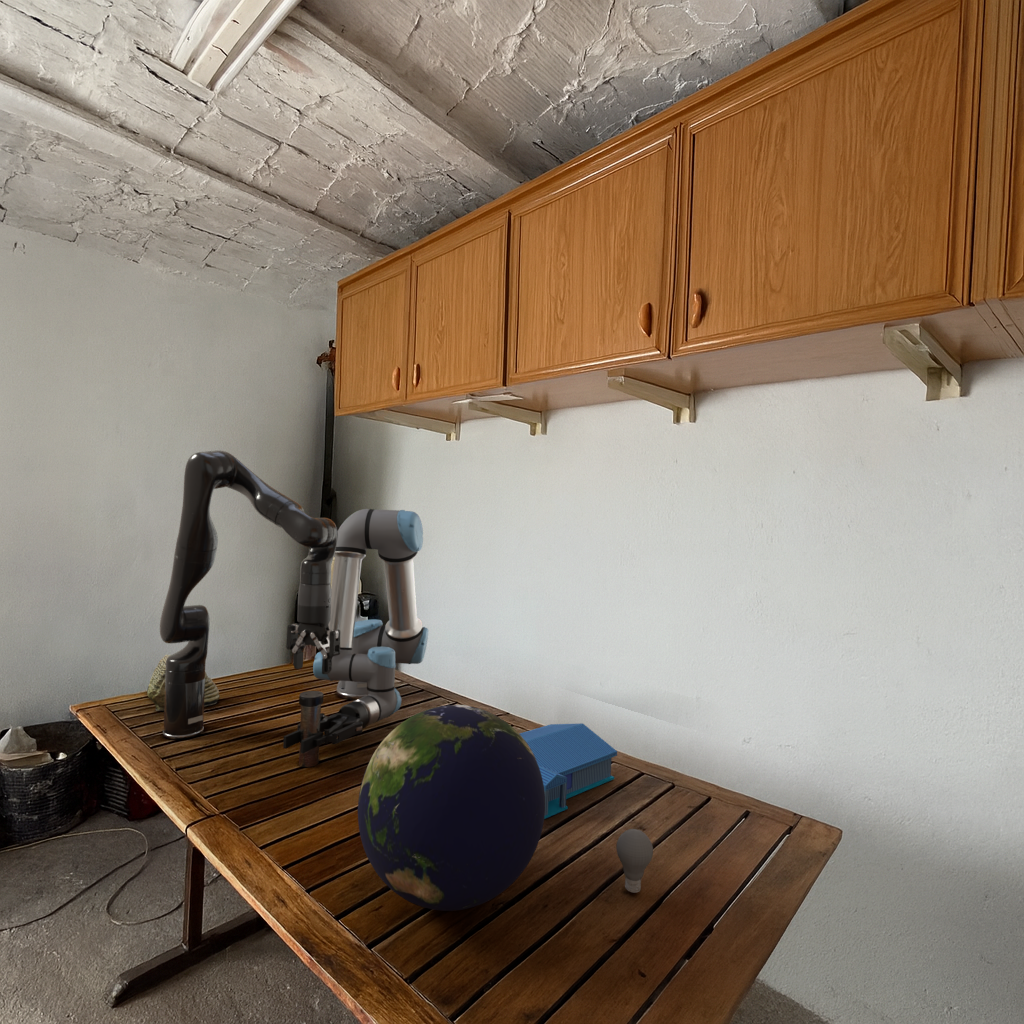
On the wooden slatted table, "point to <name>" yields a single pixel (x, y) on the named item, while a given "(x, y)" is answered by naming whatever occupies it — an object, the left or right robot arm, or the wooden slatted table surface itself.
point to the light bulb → (634, 857)
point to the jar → (309, 734)
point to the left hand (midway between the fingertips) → (312, 670)
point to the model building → (569, 761)
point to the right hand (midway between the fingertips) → (293, 744)
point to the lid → (311, 698)
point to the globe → (451, 807)
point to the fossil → (158, 687)
